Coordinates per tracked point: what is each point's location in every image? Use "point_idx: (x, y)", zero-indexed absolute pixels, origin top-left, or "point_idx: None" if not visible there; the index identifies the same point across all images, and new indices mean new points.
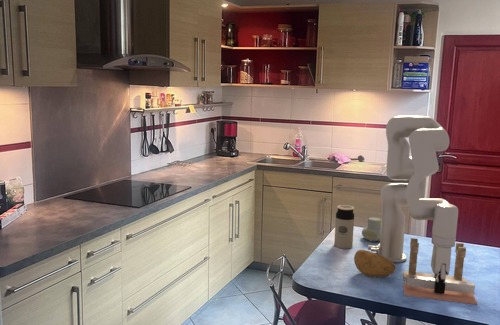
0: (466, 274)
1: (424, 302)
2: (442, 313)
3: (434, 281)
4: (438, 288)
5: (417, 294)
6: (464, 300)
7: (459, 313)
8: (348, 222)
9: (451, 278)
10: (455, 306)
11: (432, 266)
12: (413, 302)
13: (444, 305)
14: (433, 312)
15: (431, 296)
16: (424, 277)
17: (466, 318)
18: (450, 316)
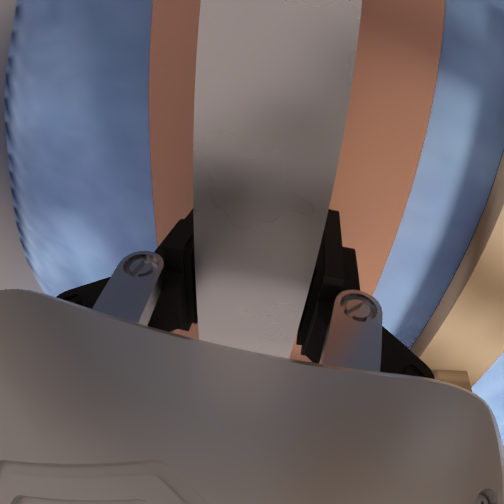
0: (497, 400)
1: (90, 85)
2: (20, 177)
3: (196, 238)
4: (171, 235)
5: (170, 32)
6: (180, 330)
7: (55, 253)
8: None
9: (468, 363)
10: (112, 263)
11: (115, 405)
12: (73, 17)
13: (97, 208)
14: (12, 135)
15: (165, 146)
16: (301, 129)
17: (35, 264)
18: (16, 206)
